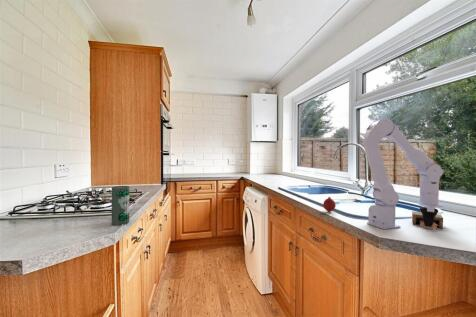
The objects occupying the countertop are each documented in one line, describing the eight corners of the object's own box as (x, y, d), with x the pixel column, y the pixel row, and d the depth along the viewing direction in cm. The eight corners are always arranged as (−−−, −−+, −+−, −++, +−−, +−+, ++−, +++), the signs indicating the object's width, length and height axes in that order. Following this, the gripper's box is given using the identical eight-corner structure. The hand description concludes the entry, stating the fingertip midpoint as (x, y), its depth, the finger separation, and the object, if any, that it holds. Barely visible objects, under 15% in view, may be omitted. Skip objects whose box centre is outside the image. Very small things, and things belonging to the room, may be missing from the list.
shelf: (442, 228, 88) (443, 218, 88) (412, 224, 93) (412, 214, 93) (440, 225, 93) (440, 214, 92) (412, 220, 98) (412, 211, 98)
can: (124, 225, 87) (124, 188, 87) (108, 225, 87) (109, 188, 87) (131, 220, 93) (131, 185, 93) (116, 220, 93) (116, 185, 93)
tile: (436, 229, 87) (436, 224, 87) (420, 227, 90) (420, 222, 90) (434, 225, 92) (434, 221, 92) (419, 223, 95) (419, 218, 95)
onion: (336, 214, 109) (336, 198, 108) (324, 213, 110) (324, 197, 110) (333, 211, 114) (334, 195, 114) (322, 210, 115) (322, 195, 115)
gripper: (445, 196, 80) (444, 233, 80) (439, 191, 91) (438, 223, 92) (420, 194, 84) (419, 229, 84) (417, 189, 96) (417, 220, 96)
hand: (428, 226), depth 88 cm, fingers closed
